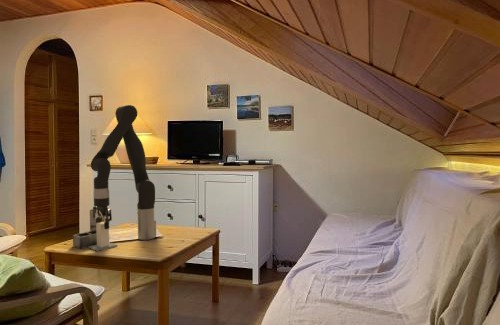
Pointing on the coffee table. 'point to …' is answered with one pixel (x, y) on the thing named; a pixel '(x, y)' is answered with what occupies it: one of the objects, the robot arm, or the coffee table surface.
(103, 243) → the square peg
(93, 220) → the coffee box
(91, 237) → the grey rectangular bin
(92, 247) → the rubber mat
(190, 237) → the coffee table surface
